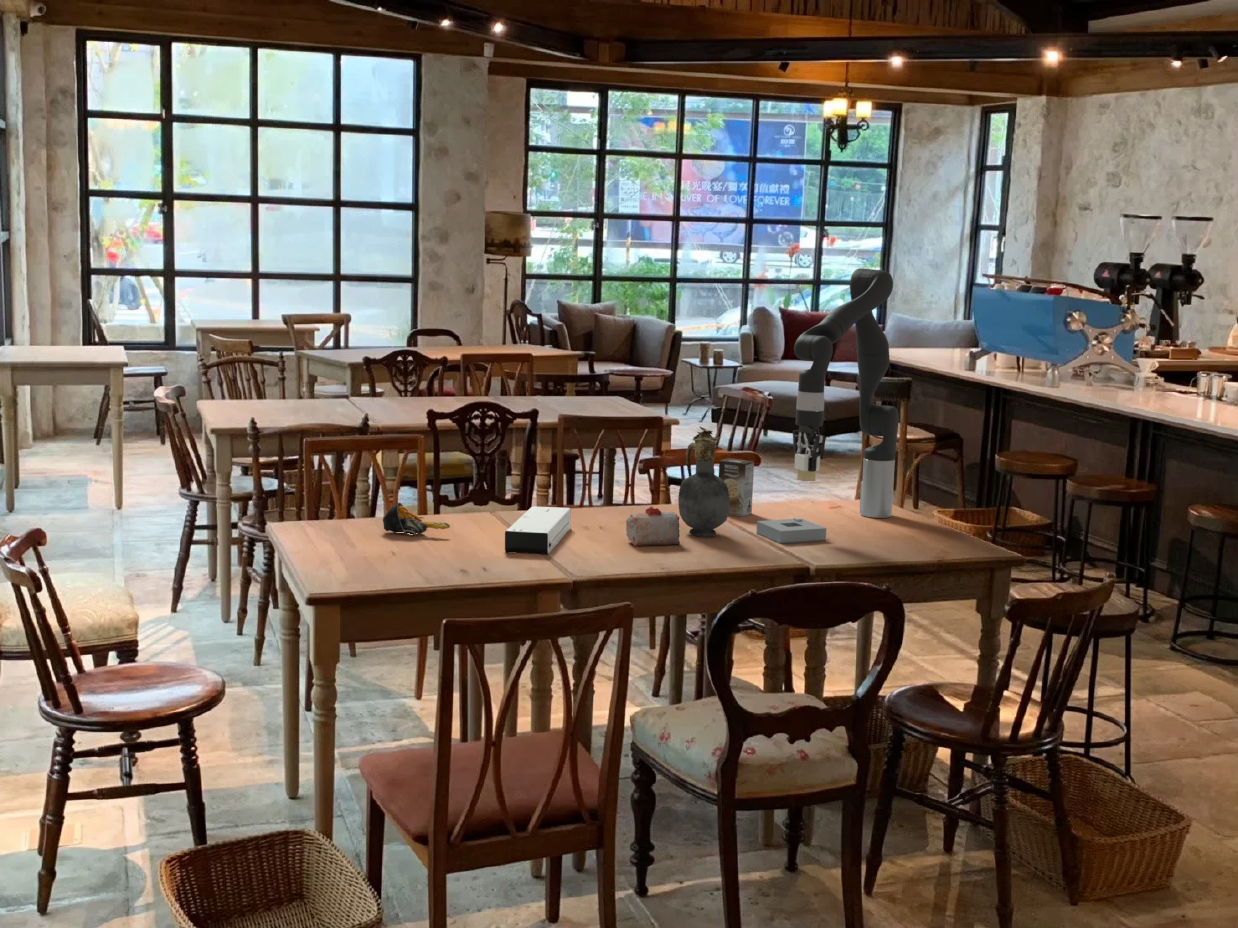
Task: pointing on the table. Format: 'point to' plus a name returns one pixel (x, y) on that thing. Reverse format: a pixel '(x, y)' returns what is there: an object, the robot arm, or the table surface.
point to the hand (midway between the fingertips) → (806, 469)
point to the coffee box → (738, 484)
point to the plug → (805, 467)
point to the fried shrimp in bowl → (407, 521)
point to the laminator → (538, 530)
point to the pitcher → (703, 489)
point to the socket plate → (791, 531)
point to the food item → (653, 528)
